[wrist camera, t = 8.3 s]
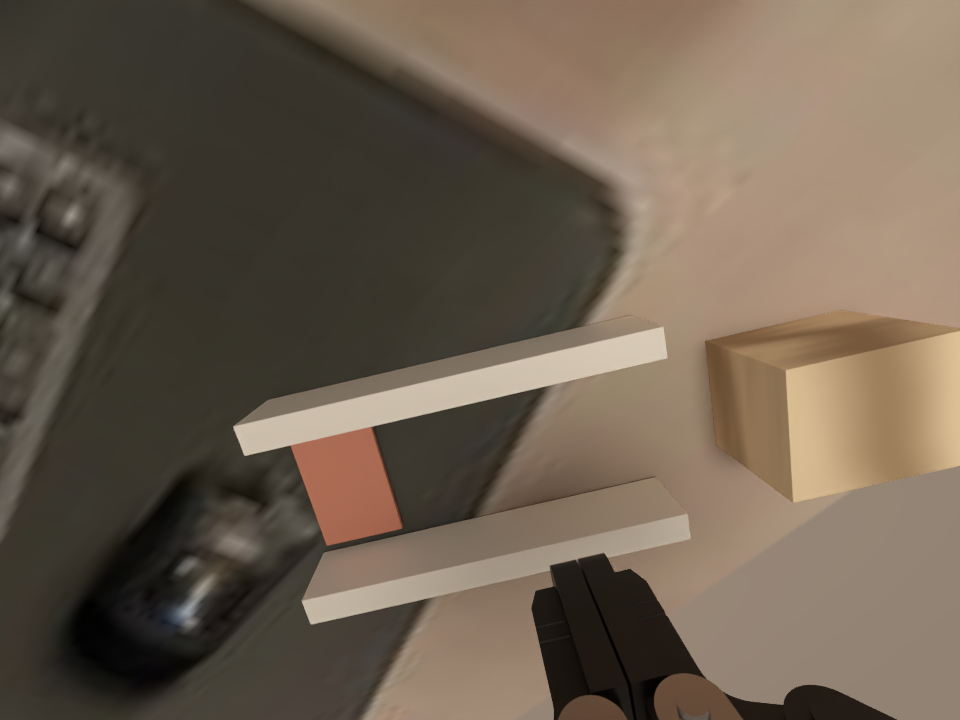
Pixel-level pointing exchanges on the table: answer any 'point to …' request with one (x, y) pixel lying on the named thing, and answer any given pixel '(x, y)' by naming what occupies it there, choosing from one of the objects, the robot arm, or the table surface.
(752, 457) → the maple block
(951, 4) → the table surface
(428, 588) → the channel
